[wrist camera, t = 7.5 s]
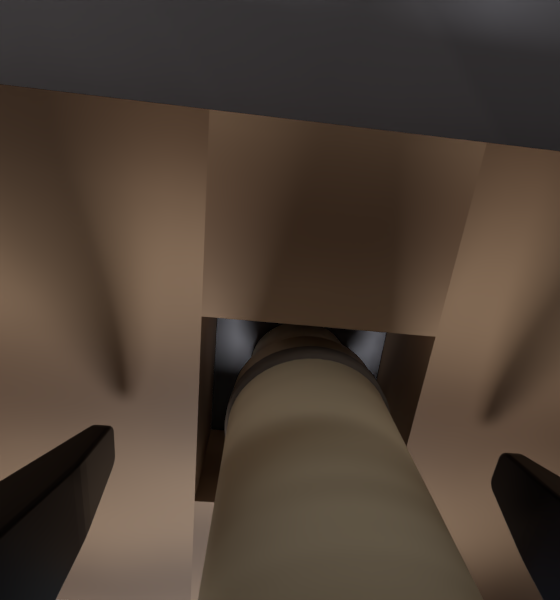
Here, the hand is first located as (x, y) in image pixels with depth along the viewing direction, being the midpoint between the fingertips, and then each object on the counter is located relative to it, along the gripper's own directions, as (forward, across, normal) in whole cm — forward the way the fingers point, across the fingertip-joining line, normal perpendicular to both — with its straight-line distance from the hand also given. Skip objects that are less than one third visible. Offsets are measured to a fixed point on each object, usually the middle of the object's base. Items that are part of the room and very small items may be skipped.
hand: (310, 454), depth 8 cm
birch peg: (+4, 0, 0) cm, 4 cm away
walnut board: (+4, 0, 0) cm, 4 cm away
